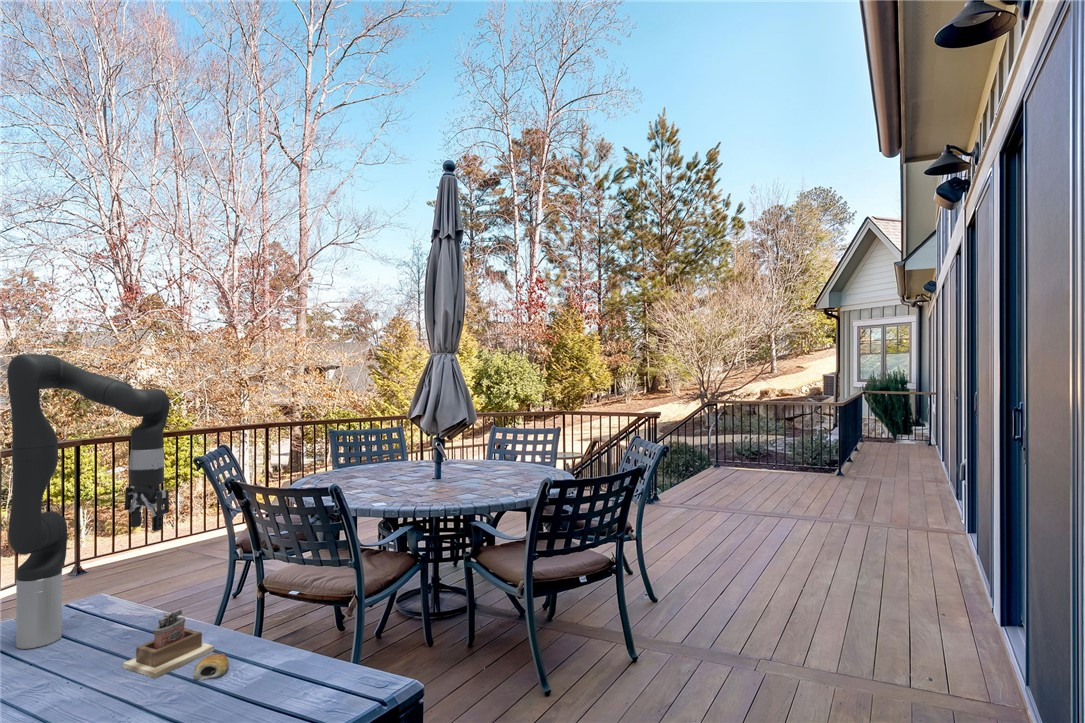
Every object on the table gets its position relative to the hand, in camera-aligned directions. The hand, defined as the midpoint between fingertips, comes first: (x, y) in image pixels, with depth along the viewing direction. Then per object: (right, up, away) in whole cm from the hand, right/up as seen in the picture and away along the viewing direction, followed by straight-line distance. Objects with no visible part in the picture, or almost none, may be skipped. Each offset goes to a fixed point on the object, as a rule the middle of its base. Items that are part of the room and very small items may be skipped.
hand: (146, 528), depth 156 cm
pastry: (+25, -30, -14) cm, 41 cm away
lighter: (+11, -29, -8) cm, 32 cm away
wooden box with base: (+11, -30, -8) cm, 33 cm away
